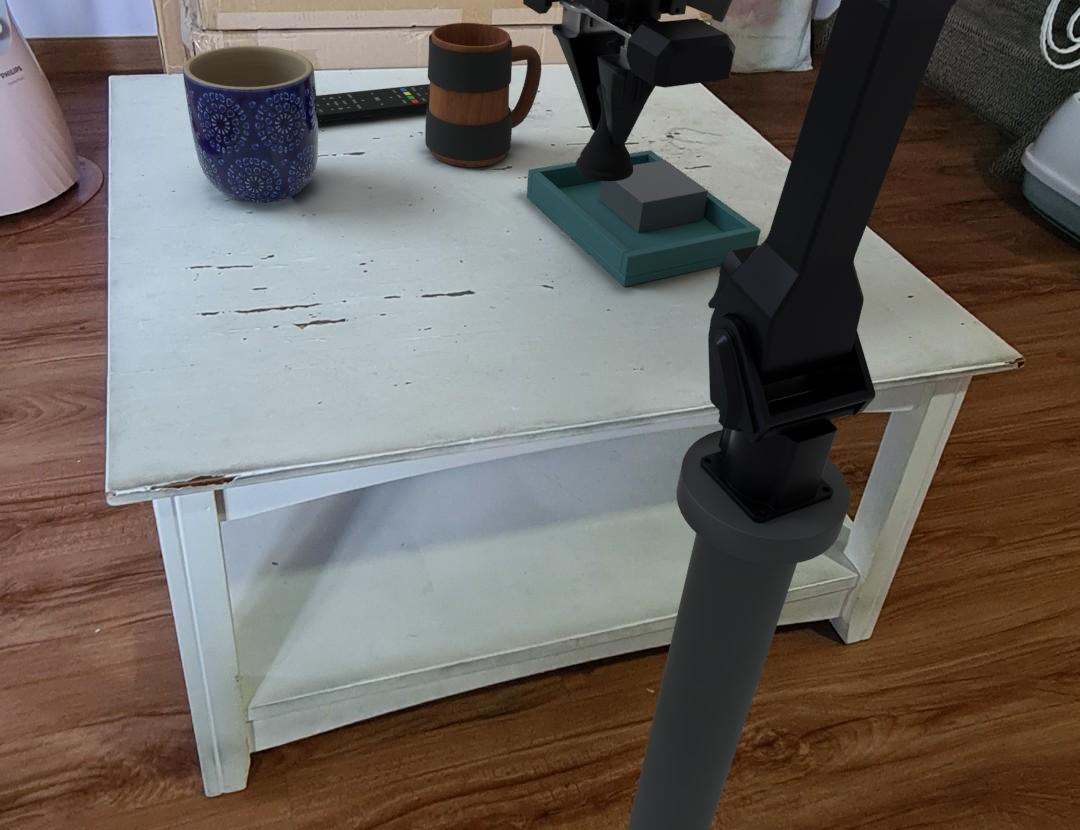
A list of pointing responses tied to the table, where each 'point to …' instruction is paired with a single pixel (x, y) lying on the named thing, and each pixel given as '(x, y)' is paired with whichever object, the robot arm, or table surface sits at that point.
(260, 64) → the planter
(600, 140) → the chess piece
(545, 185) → the tray
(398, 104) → the remote control
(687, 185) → the block
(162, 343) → the table surface
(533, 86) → the mug
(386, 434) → the table surface
